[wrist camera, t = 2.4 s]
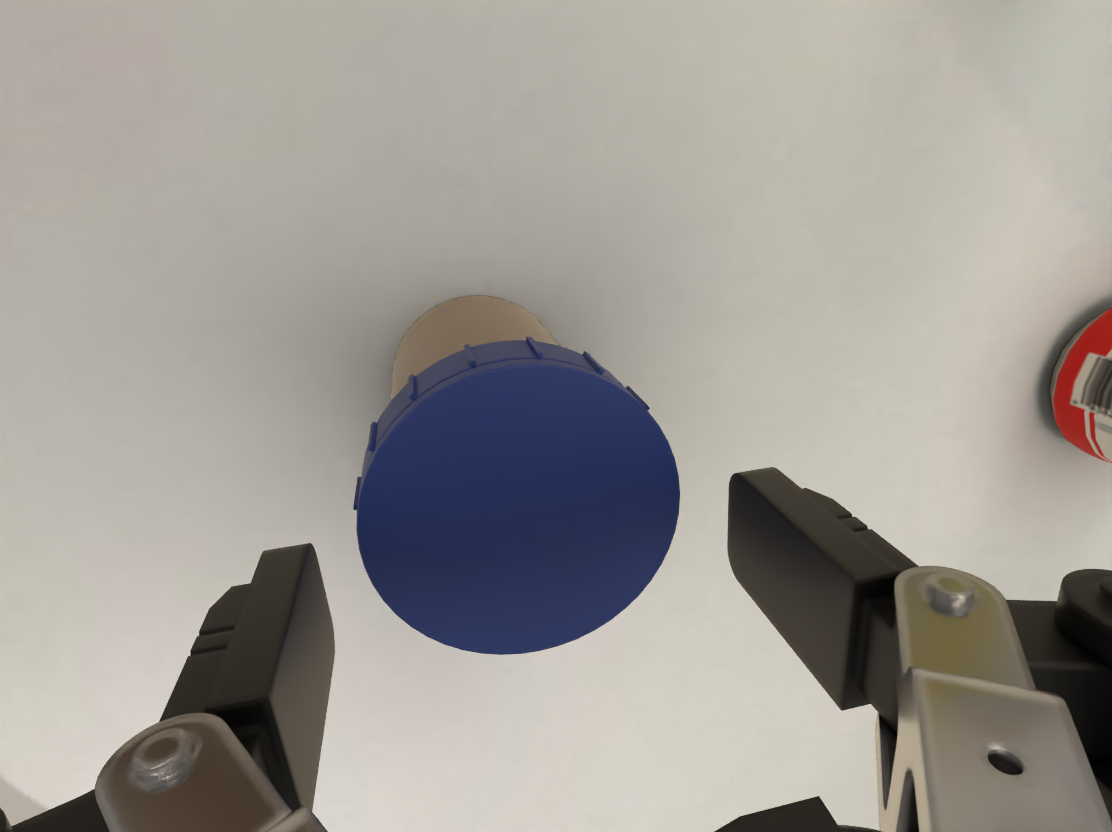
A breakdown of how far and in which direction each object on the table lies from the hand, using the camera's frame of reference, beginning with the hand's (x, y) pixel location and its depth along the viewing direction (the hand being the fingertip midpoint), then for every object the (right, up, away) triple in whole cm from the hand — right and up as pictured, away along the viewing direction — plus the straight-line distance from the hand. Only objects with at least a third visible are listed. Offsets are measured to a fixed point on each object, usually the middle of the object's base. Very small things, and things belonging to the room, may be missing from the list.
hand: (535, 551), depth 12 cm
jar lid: (0, +1, +1) cm, 1 cm away
